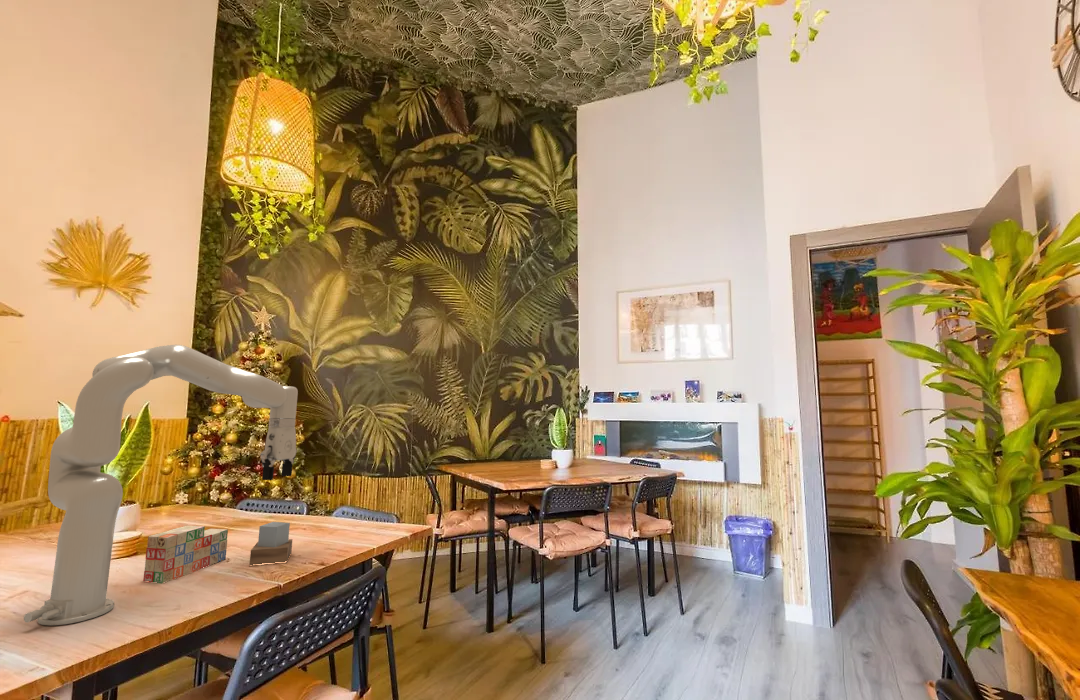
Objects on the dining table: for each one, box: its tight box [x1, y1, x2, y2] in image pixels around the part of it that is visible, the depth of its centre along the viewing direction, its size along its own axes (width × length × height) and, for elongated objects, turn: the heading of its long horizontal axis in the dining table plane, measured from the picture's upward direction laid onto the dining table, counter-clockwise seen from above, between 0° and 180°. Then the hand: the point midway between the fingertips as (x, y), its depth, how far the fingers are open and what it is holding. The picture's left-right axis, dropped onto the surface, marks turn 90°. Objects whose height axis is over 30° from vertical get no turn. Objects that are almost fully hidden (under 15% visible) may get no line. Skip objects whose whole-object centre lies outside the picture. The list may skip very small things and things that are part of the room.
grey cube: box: [257, 521, 291, 547], centre depth 151 cm, size 6×6×6 cm
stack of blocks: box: [142, 525, 229, 584], centre depth 140 cm, size 21×6×12 cm, turn 171°
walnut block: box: [249, 538, 293, 565], centre depth 150 cm, size 10×10×5 cm
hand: (277, 477), depth 153 cm, fingers open, 9 cm apart
